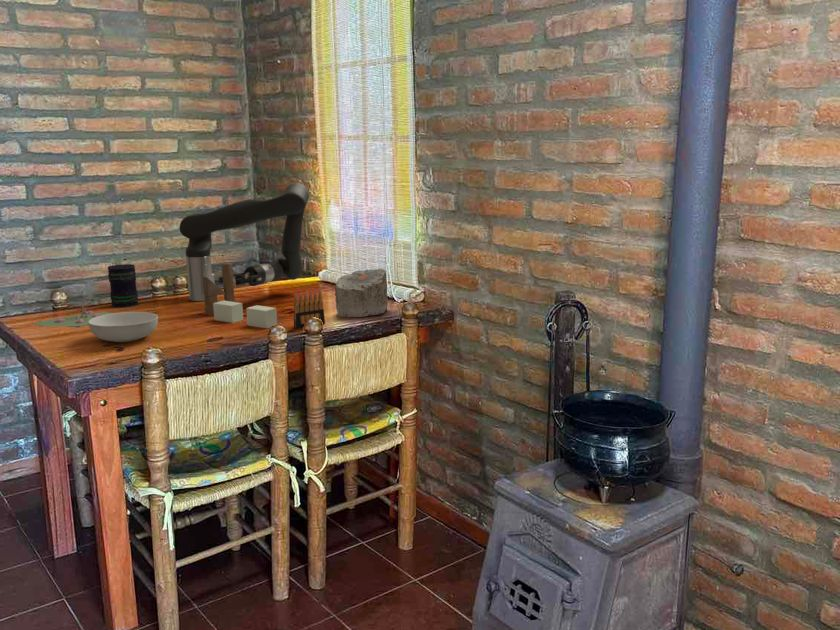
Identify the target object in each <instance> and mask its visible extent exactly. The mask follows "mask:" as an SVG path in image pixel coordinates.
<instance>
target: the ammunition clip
mask: <svg viewBox="0 0 840 630" xmlns="http://www.w3.org/2000/svg"><path fill="white" fill-rule="evenodd" d="M322 293H323V292H322V290H321V288H319V289H318V293H317V290H316V289H314V290H313V292H312V290H311V289H310V290H309V292H308V293H307V291H306V290H305V291H304V295H303V293H302V291H300V292H299V294H298V293H297V292H296V291H295V292H294V296H293V297H294V299H293V300H294V301H293V328H295V329H299V328H301V329H302V328H305V327H304V322H305V321H306V320H307V319H308V318H311V317H316V318H319V319H321V320H322V322H323V324H322V325H325V324H326V319H325V309H324V302H323V301H324V299H323V295H322ZM298 295H299V296H298Z"/></svg>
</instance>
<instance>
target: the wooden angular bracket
mask: <svg viewBox="0 0 840 630" xmlns="http://www.w3.org/2000/svg"><path fill="white" fill-rule="evenodd" d="M221 268H222V269H221V271H222V272H221V273H222V277H223V283H222V284H223V289H222V288H220V287H219V286H218V285H217V284H216V283H215V284H214V283H213V282H212V281H211V280H210V279H208V278H207V277H204V276H203V286H204V295H205V296H204V297H205V301H204V308H205V315H206V316H208V317H214V307H213V303H216V302H219V299H218V296H223V298H224V300H223V301H231V302H236V300H235V289H234V288H235V287H234V283H233V273H234V272H233V271H234V270H233V264H232V262H223V263H222V264H221Z"/></svg>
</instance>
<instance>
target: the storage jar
mask: <svg viewBox="0 0 840 630" xmlns="http://www.w3.org/2000/svg"><path fill="white" fill-rule="evenodd" d="M123 261H127V258H123ZM107 273H108V274H107V276H108V281H109V286H110V293H109V294H110V302H111V307H112V308H117V309H118V308H123V309H124V308H131V307H135V306H138V305H139V299H138V298H139V295H138V289H137V283H136V280H137V274H136V266H135V264H130V263H129V264H125V263H124V264H114V265H109V266H108V267H107Z"/></svg>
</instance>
